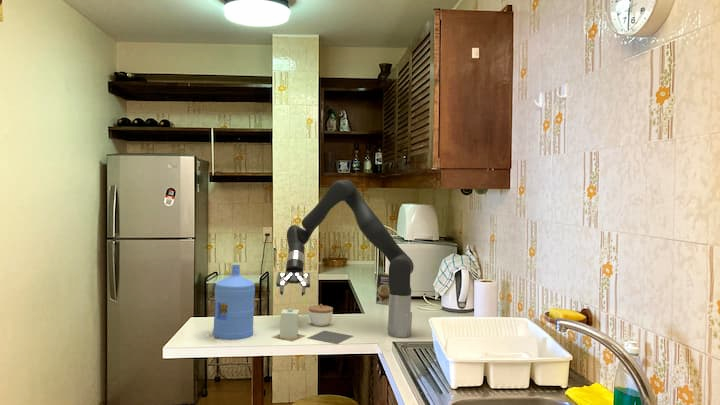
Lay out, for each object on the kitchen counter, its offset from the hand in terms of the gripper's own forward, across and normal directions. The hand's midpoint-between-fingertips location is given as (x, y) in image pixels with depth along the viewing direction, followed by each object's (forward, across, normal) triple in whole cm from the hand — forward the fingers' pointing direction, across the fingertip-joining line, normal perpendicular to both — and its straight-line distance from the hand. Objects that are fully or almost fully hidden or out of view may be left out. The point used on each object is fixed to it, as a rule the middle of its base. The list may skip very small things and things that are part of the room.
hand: (292, 294), depth 206 cm
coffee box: (-34, +47, +57) cm, 81 cm away
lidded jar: (+2, +12, +20) cm, 24 cm away
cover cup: (+16, 0, +5) cm, 17 cm away
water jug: (+16, -22, +6) cm, 28 cm away
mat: (+16, +17, +6) cm, 24 cm away
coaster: (+17, 0, +5) cm, 18 cm away
